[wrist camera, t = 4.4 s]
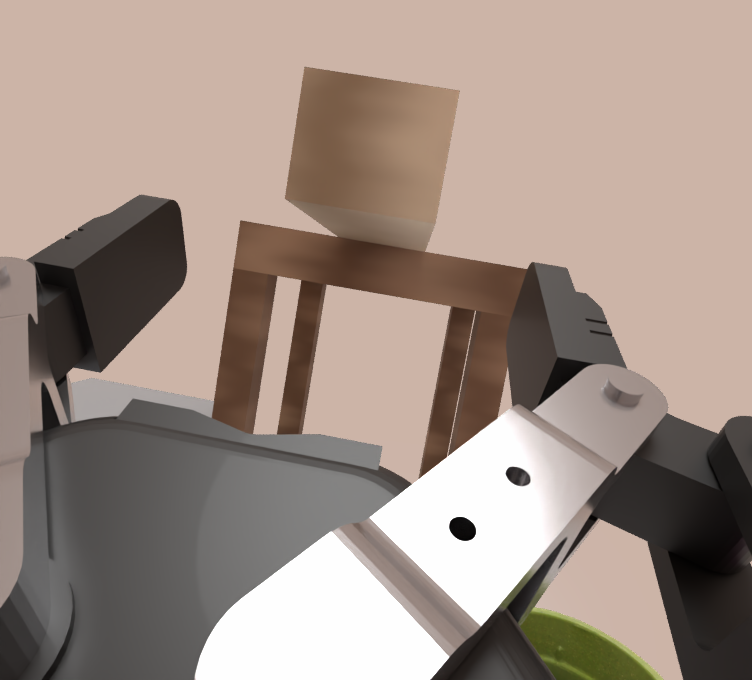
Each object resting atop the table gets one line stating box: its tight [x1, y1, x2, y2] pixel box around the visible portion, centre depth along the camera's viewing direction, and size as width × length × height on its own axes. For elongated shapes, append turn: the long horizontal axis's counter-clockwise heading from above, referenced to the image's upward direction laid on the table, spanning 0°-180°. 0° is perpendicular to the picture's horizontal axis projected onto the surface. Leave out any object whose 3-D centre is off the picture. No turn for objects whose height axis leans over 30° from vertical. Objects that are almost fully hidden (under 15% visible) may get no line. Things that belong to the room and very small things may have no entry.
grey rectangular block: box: [71, 378, 214, 421], centre depth 24 cm, size 9×14×22 cm, turn 176°
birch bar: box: [285, 67, 460, 252], centre depth 24 cm, size 4×24×3 cm, turn 176°
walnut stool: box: [212, 221, 527, 479], centre depth 30 cm, size 12×15×32 cm
